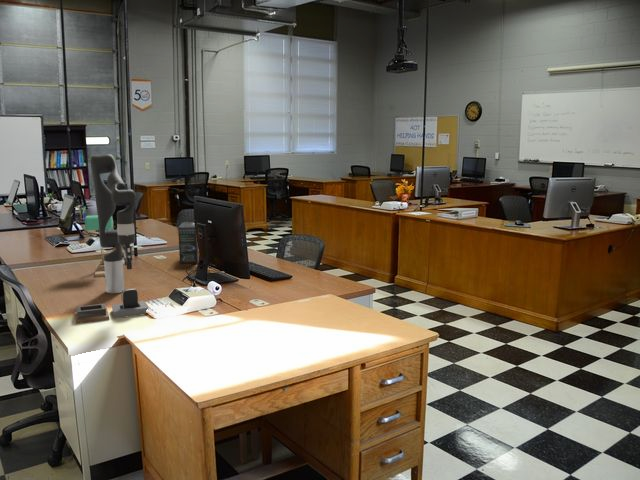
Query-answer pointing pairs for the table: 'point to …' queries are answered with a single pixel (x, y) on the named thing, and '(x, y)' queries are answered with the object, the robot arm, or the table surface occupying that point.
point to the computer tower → (188, 243)
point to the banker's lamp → (93, 224)
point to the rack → (91, 313)
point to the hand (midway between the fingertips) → (128, 267)
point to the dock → (129, 310)
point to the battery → (129, 298)
